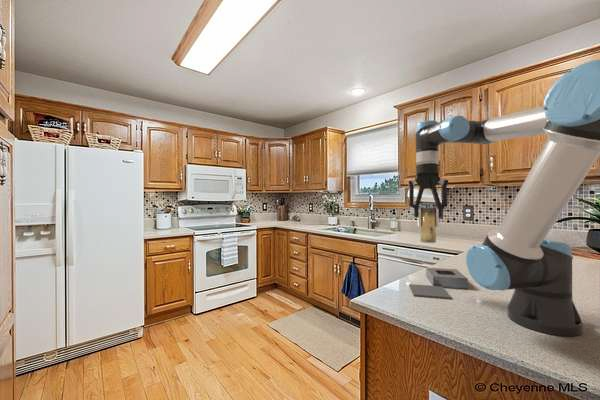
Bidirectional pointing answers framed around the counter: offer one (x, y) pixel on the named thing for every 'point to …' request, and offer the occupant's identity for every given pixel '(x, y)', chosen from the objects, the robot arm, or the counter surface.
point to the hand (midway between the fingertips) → (427, 226)
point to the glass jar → (428, 225)
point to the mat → (429, 291)
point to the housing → (446, 278)
